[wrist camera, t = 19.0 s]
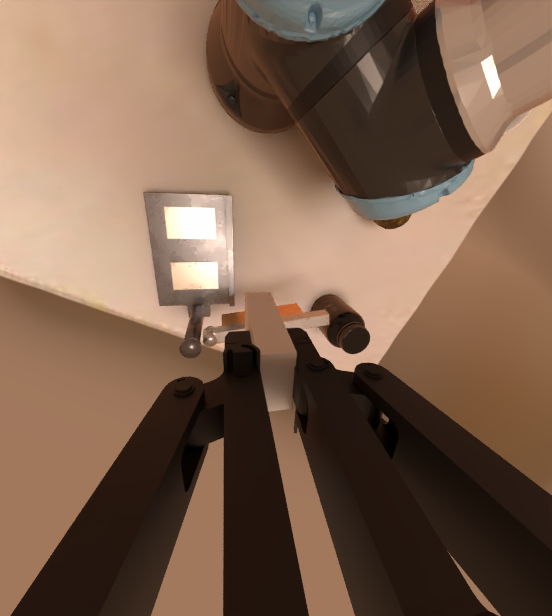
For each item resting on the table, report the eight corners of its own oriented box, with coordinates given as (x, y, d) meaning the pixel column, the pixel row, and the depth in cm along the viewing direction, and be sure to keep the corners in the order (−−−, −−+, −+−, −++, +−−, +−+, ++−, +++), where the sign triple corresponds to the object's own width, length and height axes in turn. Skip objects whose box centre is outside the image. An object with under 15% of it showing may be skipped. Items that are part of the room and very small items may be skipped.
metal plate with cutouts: (147, 192, 39) (141, 192, 36) (230, 195, 41) (231, 195, 38) (162, 301, 45) (158, 308, 43) (233, 299, 48) (234, 306, 45)
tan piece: (314, 296, 44) (330, 314, 37) (314, 307, 44) (330, 326, 38) (204, 313, 41) (201, 335, 35) (207, 324, 42) (204, 347, 36)
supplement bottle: (313, 330, 53) (336, 364, 42) (308, 298, 50) (332, 327, 40) (345, 321, 54) (376, 353, 43) (342, 290, 51) (375, 316, 40)
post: (187, 296, 46) (173, 337, 33) (209, 295, 47) (204, 335, 33) (189, 315, 47) (176, 362, 34) (210, 314, 48) (206, 360, 35)
